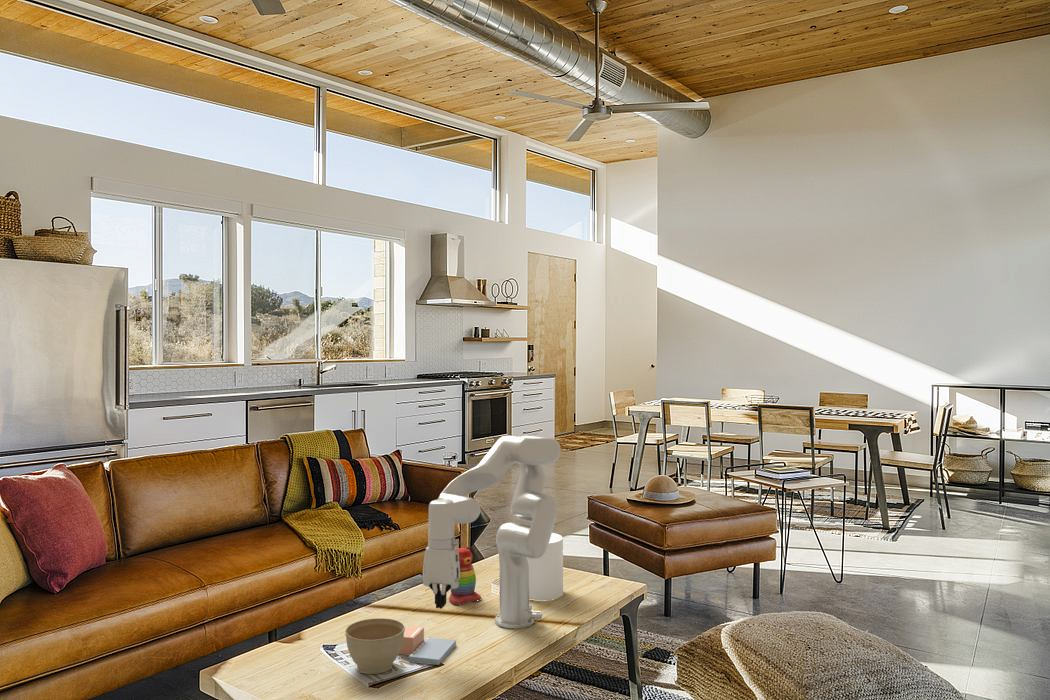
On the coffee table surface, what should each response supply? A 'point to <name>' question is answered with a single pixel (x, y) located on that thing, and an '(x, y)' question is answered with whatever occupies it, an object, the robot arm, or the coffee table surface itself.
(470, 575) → the stacking bear
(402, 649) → the peach rectangular block
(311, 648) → the coffee table surface
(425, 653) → the board
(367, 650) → the planter bowl
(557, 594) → the canister
